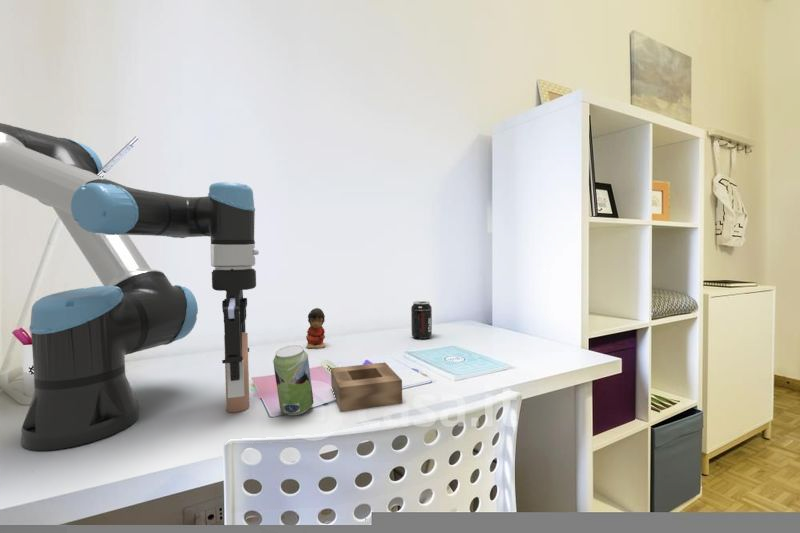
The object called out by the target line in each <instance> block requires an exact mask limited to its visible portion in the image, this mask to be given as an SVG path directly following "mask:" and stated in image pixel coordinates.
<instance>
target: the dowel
mask: <svg viewBox="0 0 800 533" xmlns="http://www.w3.org/2000/svg"><path fill="white" fill-rule="evenodd" d="M248 334H249V333H248V332H242V357H243V361H244V396H241V397H233V398H228V383H227V363H224V370H225V371H224V374H225V402H226V403H225V404H226V406H225V407H226V412H228V413H241V412H242V411H246V410H248V409H249V408H250V379H249V378H250V377H249V376H250V374H249V352H248V348H249V346H248V345H249V342H248V341H249V340H248V337H249V336H248ZM223 335H224V336H223V337H224V338H223V339H224V340H223V341H224V345H225V334H223Z"/></svg>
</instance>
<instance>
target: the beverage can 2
mask: <svg viewBox="0 0 800 533" xmlns="http://www.w3.org/2000/svg"><path fill="white" fill-rule="evenodd" d="M412 303H413V304H412V305H411V308H410V311H411V313H410V314H411V318H410V319H411V320H410V321H411V322H410V324H411V328H410V330H411V337H413V338H414V339H416V340H428V339H429V338H431V337H432V335H433V333H432V332H433V324H432V322H433V319H432V318H433V317H432V315H433V314H432V313H433V310H432V305H431V301H427V300H424V301H423V300H416V301H413V302H412Z"/></svg>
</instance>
